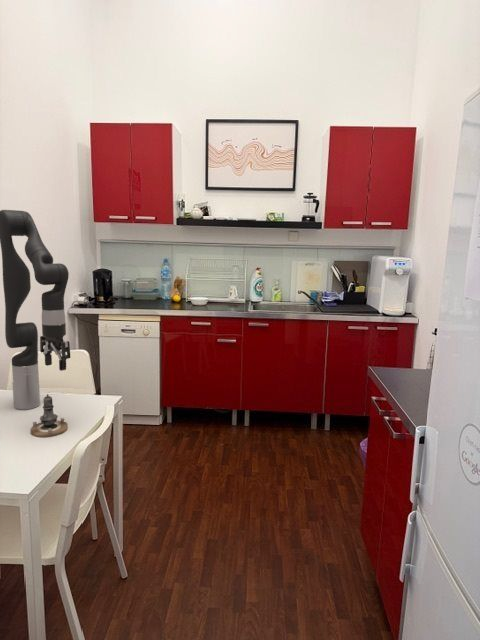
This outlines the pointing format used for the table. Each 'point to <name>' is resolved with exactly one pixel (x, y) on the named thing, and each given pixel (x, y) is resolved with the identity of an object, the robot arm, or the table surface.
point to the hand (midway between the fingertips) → (55, 367)
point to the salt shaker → (48, 414)
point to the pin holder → (50, 432)
